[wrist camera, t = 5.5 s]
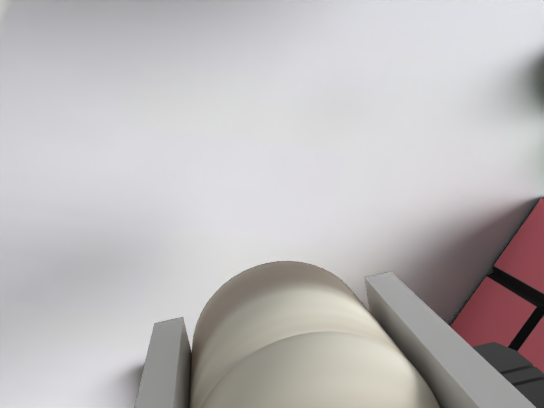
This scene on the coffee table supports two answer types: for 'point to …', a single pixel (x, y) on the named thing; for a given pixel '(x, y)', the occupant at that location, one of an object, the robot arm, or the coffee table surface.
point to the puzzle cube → (511, 296)
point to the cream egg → (297, 346)
